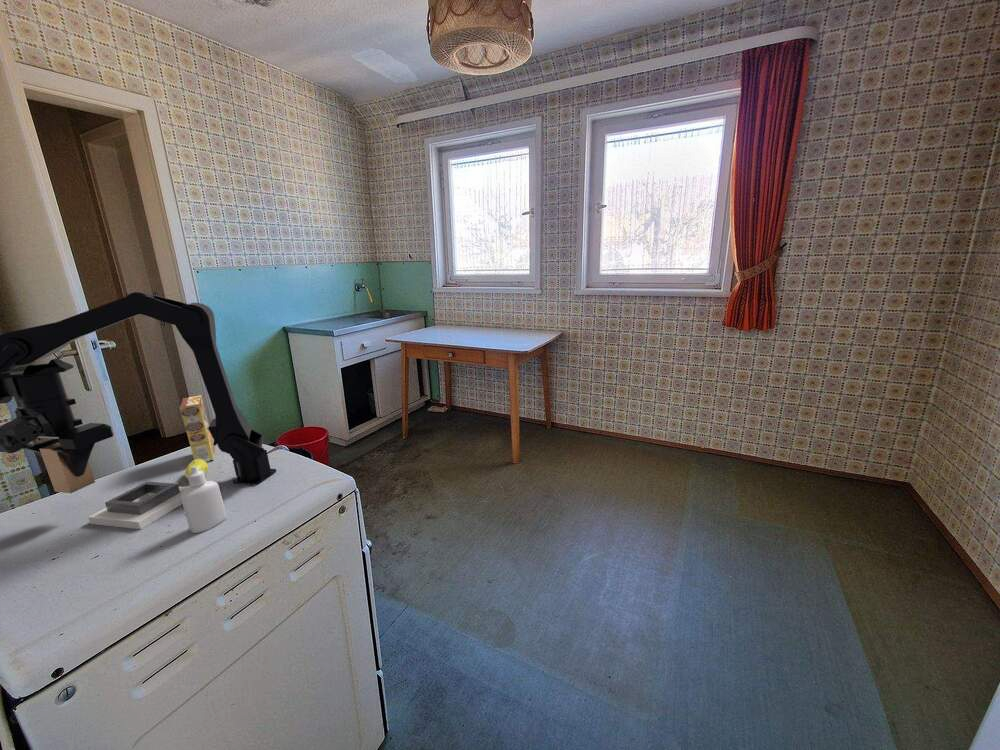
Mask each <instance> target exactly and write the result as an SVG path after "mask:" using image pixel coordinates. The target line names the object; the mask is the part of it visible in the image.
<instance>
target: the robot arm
mask: <svg viewBox="0 0 1000 750" xmlns="http://www.w3.org/2000/svg"><path fill="white" fill-rule="evenodd" d="M139 315H143V316H146V317H148V318H152V319H155V320H156V321H157V320H158V321H160V322H163V323H165V324H168V325H169V324H170V325H173V326H175V328H176V329H177V331H178V332H179V334H180V336H181V338H182V339H183V340H184V341H185V343H186V344H187V345H188V347H189V348H190V349H191V350H192V352H193V355H194V358H195V360H196V363H197V366H198V369H199V371H200V374H201V378H202V380H203V384H204V387H205V390H206V392H207V395H208V398H209V400H210V403H211V406H212V409H213V411H214V416H215V418H212V420H211V422H210V423H209V427H208V429H209V431H210V433H211V435H212V439H213V443H214V444H213V445H214V447H215V446H216V445H217V447H218V449H219V450H220V451H221V452H222V453H226V454H229V456H230V457H231V458H232V459H233V460H232V463H233V468H234V472H235V476H236V478H234V479H233V480H231V482H232V484H241V485H253V486H256V485H258V484H260V483H261V482H263V481H264V480H266V479H268V478H269V477H270V476H272V475H274V474H275V473H276V472H277V469H276V468H271V465H270V461H269V454H268V451H267V449H265V448H264V447H263V445H264V444H263V443H264V442H263V441H264V437H265V435H264V434H262V433H260V432H258V431H256V430H255V429H252V427H251V425H250V424H249V422H248V420H247V418H246V416H245V415H244V414H243V412H242V411H241V410H240V409H239V408H238V406H237V403H236V400H235V398H234V395H233V392H232V389H231V386H230V383H229V380H228V376H227V374H226V370H225V368H224V365H223V362H222V359H221V356H220V352H219V349H218V347H217V329H216V320H215V314H214V312H213V310H212V309H211V307H209V306H208V305H206V304H204V303H201V302H191V303H185V302H182V301H178V300H175V299H170V298H165V297H162V296H159V295H154V294H152V293H150V292H147V291H135V292H130V293H129V294H127V295H126V296H124V297H120V298H119V299H118V298H117V299H116V300H112V301H111V302H108V303H104V304H102V305H100V306H97V307H95V308H92V309H89V310H86V311H83V312H81V313H77V314H75V315H72V316H69V317H67V318H65V319H62V320H57V321H55V322H51V323H47V324H40V325H36V326H32V327H28V328H21V329H17V330H12V331H8V332H4V333H2V334H0V405H4V404H9V403H10V402H11V401H12V400H13V397H17V396H18V398H19V402H20V404H21V406H20V407H16V408H15V411H14V413H15V416H16V417H15V418H14V419H12V420H10V421H7V422H6V423H4V424H2V425H0V453H6V454H14V453H16V452H19V451H21V450H26V451H29V452H34V453H36V454H37V455H38V456H39V457H40V458H42V455H41V452H40V449H39V448H42V447H45V446H48V445H51V444H54V443H56V442H59V443H60V445H61V446H60V447H57V448H54V449H51V450H52V451H55V452H58V453H61V454H63V455H64V457H65V458H66V460H67V462H68V464H69V466H70V468H71V470H72V471H73V473H74V474H75V476H76V477H79V476H82V475H83V474H84V472H85V469H86V466H87V463H88V462H89V458H90V457H91V453H92V451H93V450H94V446H95V444H97V443H99V442H102V441H104V440H105V441H106V440H108V439H110V438H112V437H114V436H115V435H114V432H113V429H112V426H111V425H109V424H106V423H100V422H98V423H97V422H89V423H86V424H83V420H82V418H75V416H74V413H73V410H72V407H71V406H73V405H77V402H76V399H75V398H69V397H68V395H67V392H66V389H65V385H64V384H63V383H64V382H63V380H62V377H61V373H65V372H67V371H70V370H72V369H74V367H75V366H74V365H73V364H71V363H69V362H65V361H63V360H62V359H60V358H59V357H56V358H52V359H50V361H48V363H39V364H31V363H34V362H37V361H41V360H43V359H46V358H48V357H50V356H52V355H53V354H55V353H57V352H59V351H60V350H62V349H63V348H66V347H67V346H69V345H70V344H71V343H73V342H74V341H76V340H78V339H80V338H81V337H84V336H87V335H89V334H92V333H95V332H97V331H99V330H102V329H105V328H107V327H111V326H112V325H115V324H118V323H120V322H124V321H126V320H128V319H131V318H134V317H137V316H139ZM28 364H30V365H28ZM26 365H27V366H26ZM23 366H26V367H24V370H22V371H14V372H10V371H11V370H14V369H17V368H20V367H23Z"/></svg>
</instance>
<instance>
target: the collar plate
mask: <svg viewBox="0 0 1000 750" xmlns="http://www.w3.org/2000/svg"><path fill="white" fill-rule="evenodd" d="M189 487H190V486H188V487H187V486H179V484H178V483H169V482H158V481H145V482H143V483H141V484H139V485H137V486H135V487H133V488H130V490H127V491H126V492H123V493H121V494H119V495H117V496H115V497H113V498H111V499H110V500H108V501H105V502H104V504H105V507H104V508H103V509H101V510H99V511H98V512H94V514H91V515H89V516H88V520H89V524H90V525H97V526H99V525H100V526H108V527H118V528H119V527H120V528H125V529H127V528H128V529H133V530H135V529H136V530H142V529H144V528H145V527H147V526H148V525H150V524H152V523H154V522H155V521H157V520H158V519H160V518H162V517H163V516H165V515H167V514H169V513H170V512H172V511H173V510H175V509H177V508H178V507H180V506H181V505H183V503H182V499H181V495H182V493H183V492H184V491H185V490H186V489H188V488H189Z"/></svg>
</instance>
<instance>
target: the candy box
mask: <svg viewBox="0 0 1000 750" xmlns="http://www.w3.org/2000/svg"><path fill="white" fill-rule="evenodd" d="M179 411H180V415H181V418H182V421H183V426H184V428H185V431H186V435H187V439H188V442H189V445H190V449H191V453H192V456H193V460H195V459H202V460H204V461H209V462H211V461H210V460H213V461H214V460H215V456H214V455H215V452H216V447H215V446H214V445H213V444H214V439H213V436H212V435H211V433H210V431H209V429H208V427H209V425H210V423H209V420H208V417H207V412H206V409H205V405H204V401H203V398H202V395H195V396H189V397H183V398H182V401H181V403H180V406H179Z"/></svg>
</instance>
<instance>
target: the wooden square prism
mask: <svg viewBox="0 0 1000 750" xmlns="http://www.w3.org/2000/svg"><path fill="white" fill-rule="evenodd" d="M60 446H61V445H60V443H59V442H56V443H54V444H51V445H48V446H45V447H42V448H39V449H40V452H41V455H42V457H41V458H42V461H43V462H44V466H45V469H46V470H47V473H48V474H47V475H48V476H49V479H50V482H51V484H52V487H53V491H54V492H55V493H64V494H72V493H75V492H77V491H79V490H81V489H84V488H86V487H88V486H90V485H93V484H95V483H96V481H95V477H94V475H93V472H92V468H91V465H90V462H89V461H88V463H87V466H86V469H85V472H84V474H83V475H82V476H79V477H76V476H75V474H74V473H73V471H72V470H71V468H70V466H69V464H68V462H67V460H66V458H65V457H64V455H63V454H61V453H58V452H55V451H52V450H51V449H54V448H57V447H60Z"/></svg>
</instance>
